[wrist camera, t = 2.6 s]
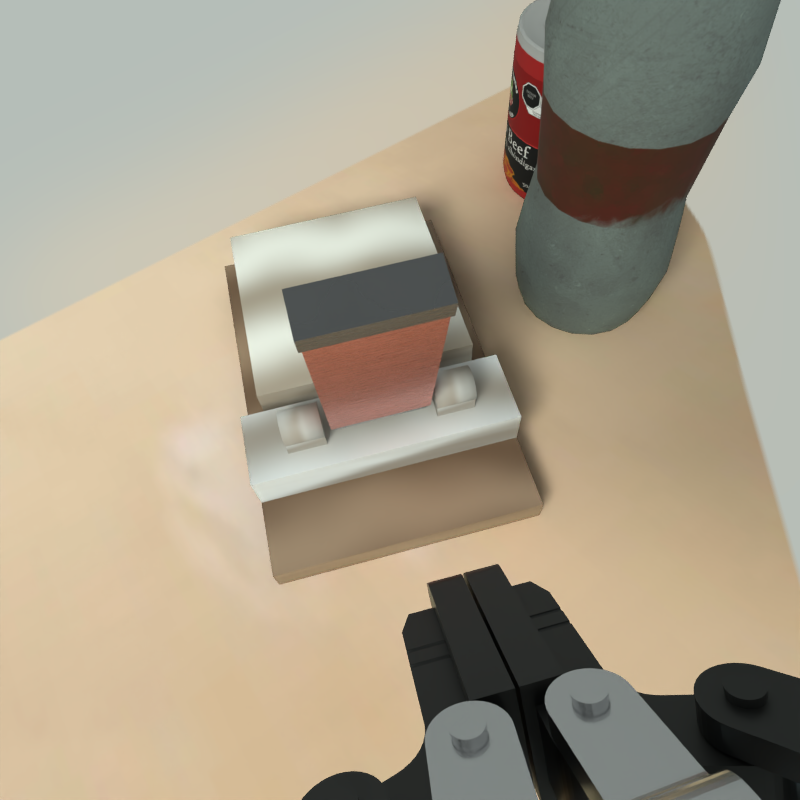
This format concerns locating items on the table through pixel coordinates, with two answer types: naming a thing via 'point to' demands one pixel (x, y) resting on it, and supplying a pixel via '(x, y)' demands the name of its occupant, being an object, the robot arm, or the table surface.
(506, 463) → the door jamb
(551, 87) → the bottle
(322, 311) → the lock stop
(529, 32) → the canned food
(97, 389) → the table surface
